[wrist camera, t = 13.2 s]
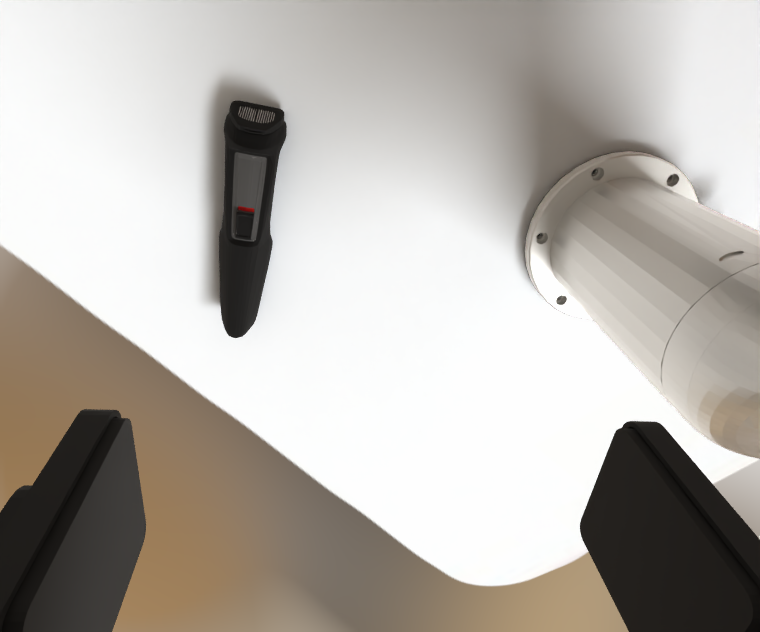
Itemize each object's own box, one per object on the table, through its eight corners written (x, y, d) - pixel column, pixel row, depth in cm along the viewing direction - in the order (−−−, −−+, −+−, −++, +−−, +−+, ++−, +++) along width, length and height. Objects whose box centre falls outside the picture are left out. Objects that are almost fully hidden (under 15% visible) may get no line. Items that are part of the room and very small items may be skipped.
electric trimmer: (213, 314, 40) (205, 335, 37) (229, 97, 33) (220, 104, 30) (264, 320, 41) (259, 342, 38) (290, 110, 34) (286, 118, 31)
